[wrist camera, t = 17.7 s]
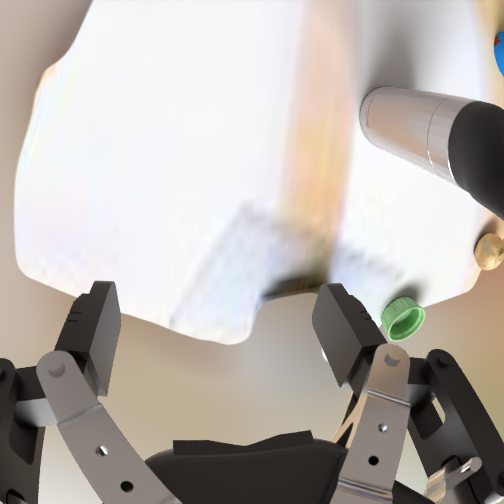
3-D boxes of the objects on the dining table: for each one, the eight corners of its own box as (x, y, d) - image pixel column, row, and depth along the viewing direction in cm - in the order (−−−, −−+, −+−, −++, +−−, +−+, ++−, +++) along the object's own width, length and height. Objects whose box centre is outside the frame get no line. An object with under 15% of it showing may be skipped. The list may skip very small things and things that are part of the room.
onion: (491, 250, 54) (510, 266, 48) (469, 267, 55) (488, 284, 49) (492, 222, 50) (513, 238, 44) (469, 239, 50) (491, 257, 44)
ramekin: (370, 326, 57) (380, 341, 53) (393, 291, 53) (404, 305, 49) (400, 328, 59) (409, 342, 56) (421, 295, 55) (432, 308, 52)
